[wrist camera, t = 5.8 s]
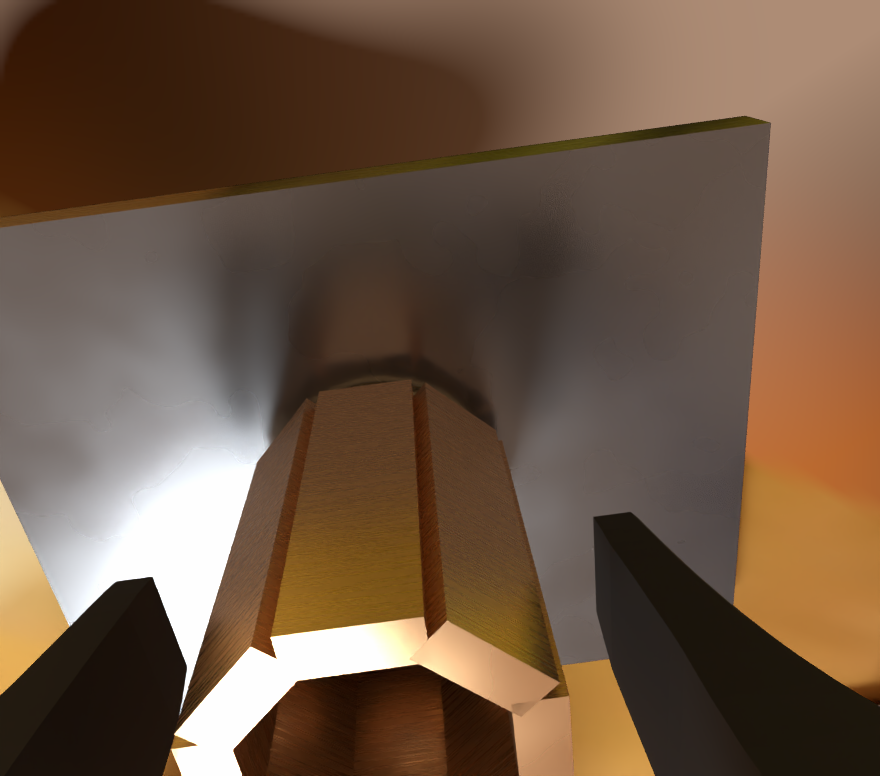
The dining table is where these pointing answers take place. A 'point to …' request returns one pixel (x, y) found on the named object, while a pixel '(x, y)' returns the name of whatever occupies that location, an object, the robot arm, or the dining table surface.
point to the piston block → (391, 351)
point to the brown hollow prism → (379, 607)
